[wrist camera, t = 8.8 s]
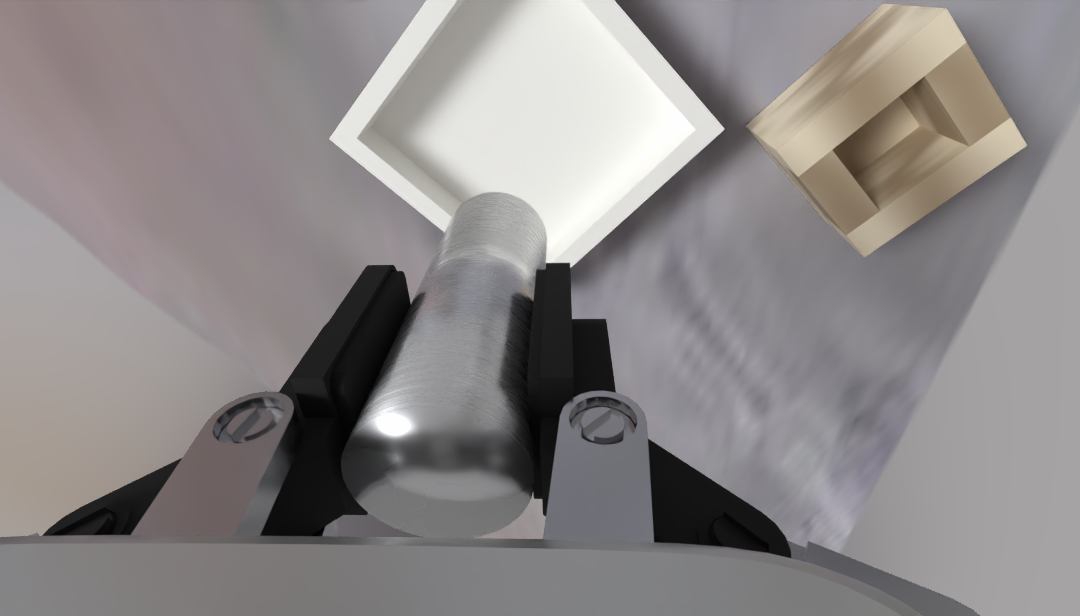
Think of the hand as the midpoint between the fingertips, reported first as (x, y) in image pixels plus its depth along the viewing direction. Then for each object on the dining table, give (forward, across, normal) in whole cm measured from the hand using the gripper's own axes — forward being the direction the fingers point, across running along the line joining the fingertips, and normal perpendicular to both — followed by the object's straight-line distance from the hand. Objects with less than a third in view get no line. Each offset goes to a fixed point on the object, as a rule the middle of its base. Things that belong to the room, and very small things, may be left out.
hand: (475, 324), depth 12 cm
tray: (+20, 0, 0) cm, 20 cm away
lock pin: (+5, 0, 0) cm, 5 cm away
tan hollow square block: (+20, -18, +1) cm, 27 cm away
